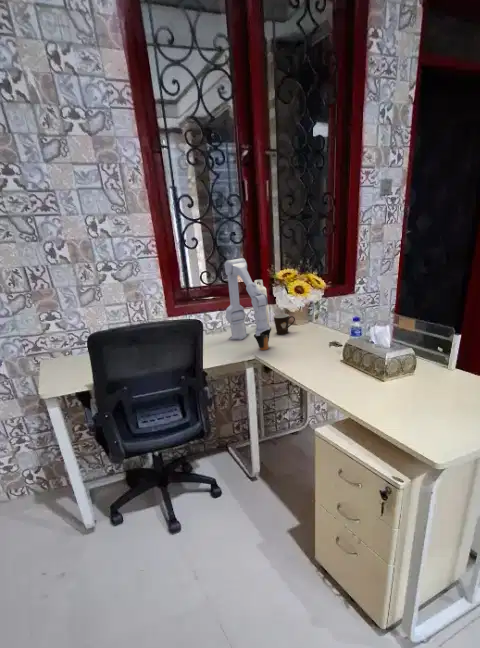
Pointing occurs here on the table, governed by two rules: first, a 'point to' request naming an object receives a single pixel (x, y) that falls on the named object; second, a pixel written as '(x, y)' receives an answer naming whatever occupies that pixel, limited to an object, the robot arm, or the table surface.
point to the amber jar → (265, 342)
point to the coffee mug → (282, 323)
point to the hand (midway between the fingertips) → (263, 345)
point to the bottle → (263, 290)
